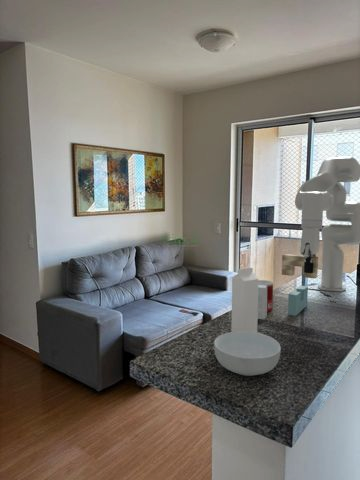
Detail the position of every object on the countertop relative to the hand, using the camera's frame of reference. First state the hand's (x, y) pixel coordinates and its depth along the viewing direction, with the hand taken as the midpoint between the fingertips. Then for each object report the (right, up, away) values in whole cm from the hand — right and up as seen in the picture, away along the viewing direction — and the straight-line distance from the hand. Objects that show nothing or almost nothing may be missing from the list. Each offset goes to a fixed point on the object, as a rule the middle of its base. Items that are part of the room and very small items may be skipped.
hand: (309, 271), depth 137 cm
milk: (-29, -19, -21) cm, 41 cm away
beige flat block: (-3, -2, +2) cm, 5 cm away
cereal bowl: (-33, -22, -44) cm, 59 cm away
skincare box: (-21, -17, -4) cm, 27 cm away
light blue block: (-3, -16, +4) cm, 16 cm away
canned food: (-17, -16, +5) cm, 24 cm away
